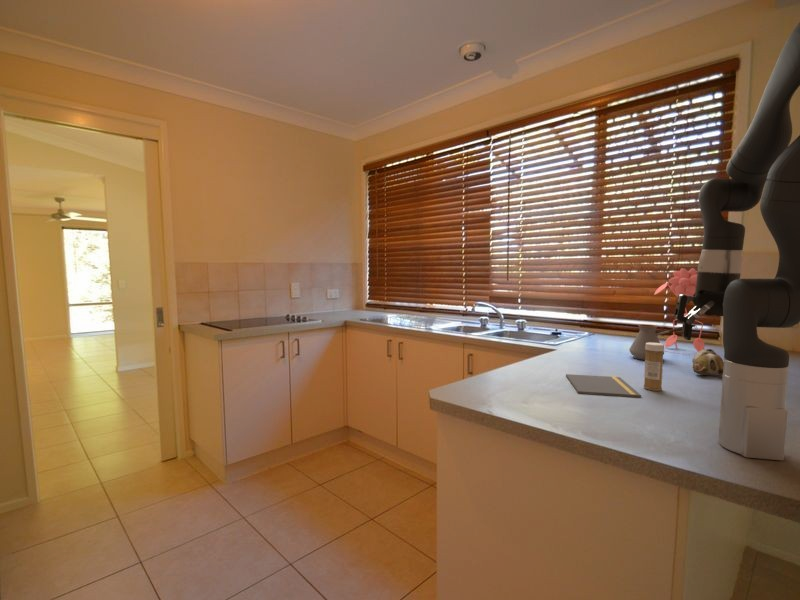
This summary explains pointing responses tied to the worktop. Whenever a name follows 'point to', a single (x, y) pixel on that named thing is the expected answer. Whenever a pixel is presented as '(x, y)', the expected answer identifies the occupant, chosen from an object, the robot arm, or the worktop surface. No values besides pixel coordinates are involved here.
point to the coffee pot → (647, 339)
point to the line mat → (601, 385)
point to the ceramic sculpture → (707, 362)
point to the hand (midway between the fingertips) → (709, 341)
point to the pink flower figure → (684, 285)
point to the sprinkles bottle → (653, 366)
